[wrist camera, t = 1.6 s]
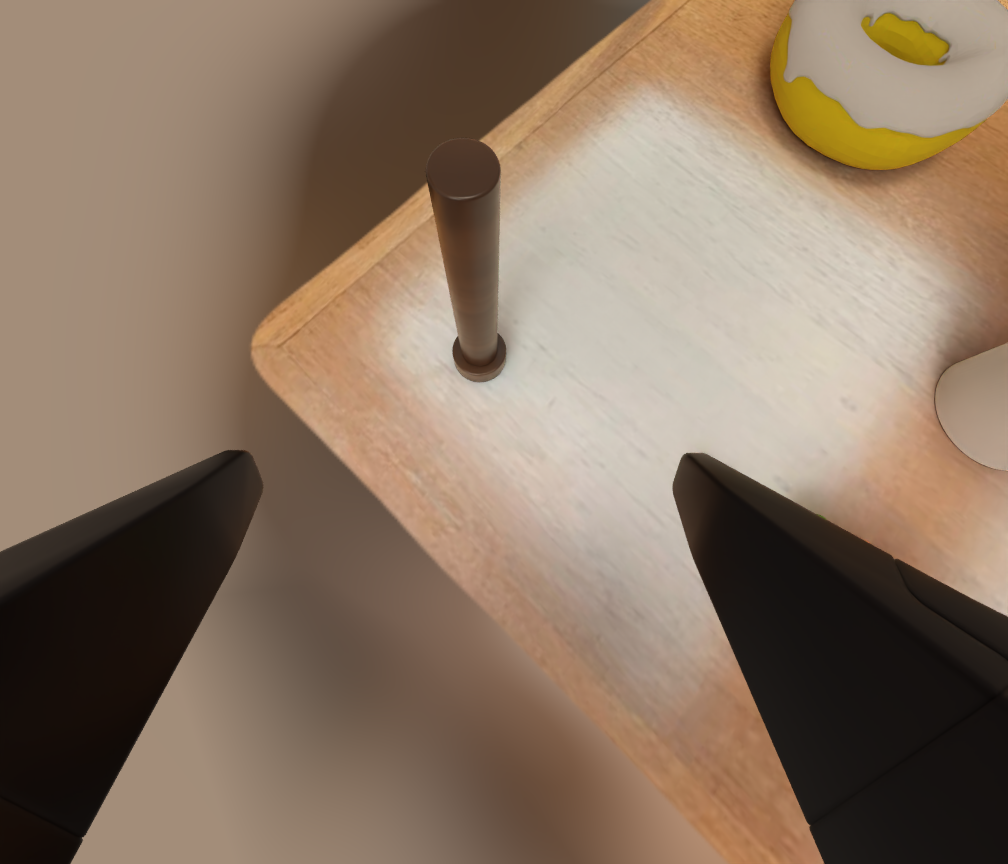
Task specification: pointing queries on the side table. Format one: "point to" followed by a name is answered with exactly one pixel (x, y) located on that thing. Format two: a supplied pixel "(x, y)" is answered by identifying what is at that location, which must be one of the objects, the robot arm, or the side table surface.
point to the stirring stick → (470, 249)
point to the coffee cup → (977, 406)
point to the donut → (889, 76)
